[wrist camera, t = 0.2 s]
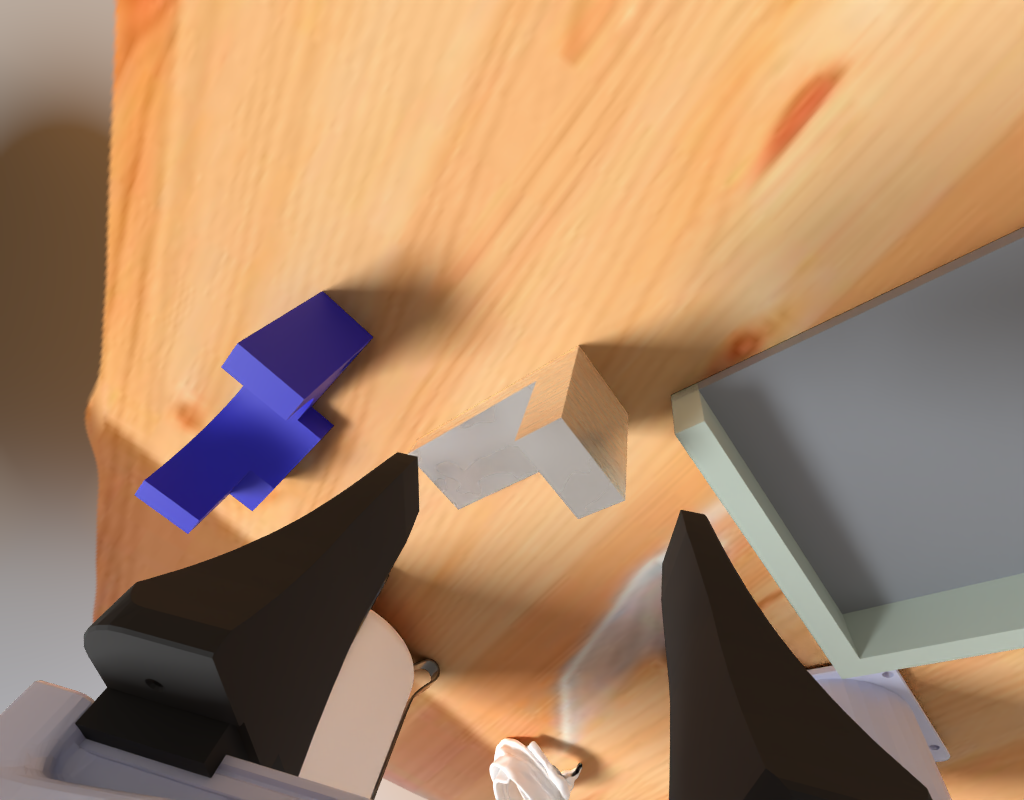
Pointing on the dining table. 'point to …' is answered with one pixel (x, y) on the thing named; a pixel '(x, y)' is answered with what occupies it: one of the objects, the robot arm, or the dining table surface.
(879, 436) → the corner tray
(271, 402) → the cable clip
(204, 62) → the dining table surface
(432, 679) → the coffee press
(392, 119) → the dining table surface
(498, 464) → the brushed metal block
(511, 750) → the whipped cream
